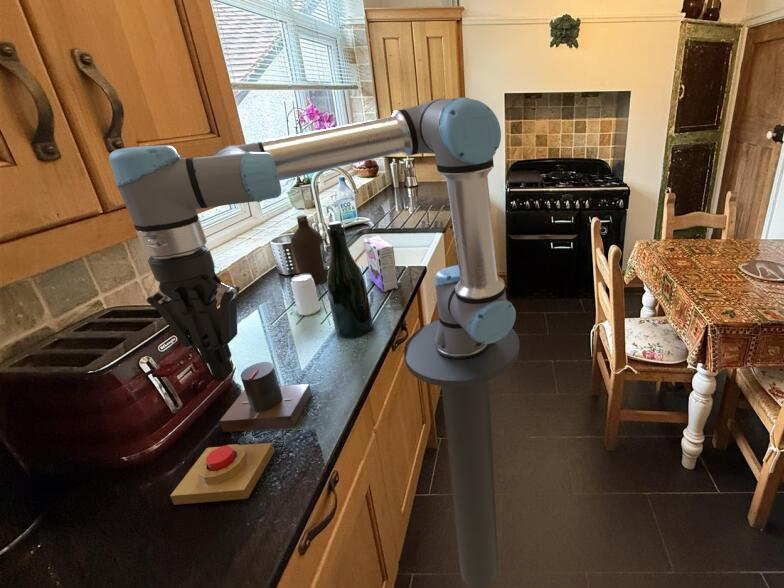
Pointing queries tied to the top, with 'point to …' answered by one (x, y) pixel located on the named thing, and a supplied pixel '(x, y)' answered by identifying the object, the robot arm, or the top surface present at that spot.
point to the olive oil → (309, 251)
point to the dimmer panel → (267, 411)
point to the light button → (220, 458)
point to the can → (305, 294)
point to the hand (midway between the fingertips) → (224, 376)
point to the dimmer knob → (261, 386)
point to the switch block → (224, 476)
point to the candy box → (381, 263)
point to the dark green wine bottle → (346, 287)
